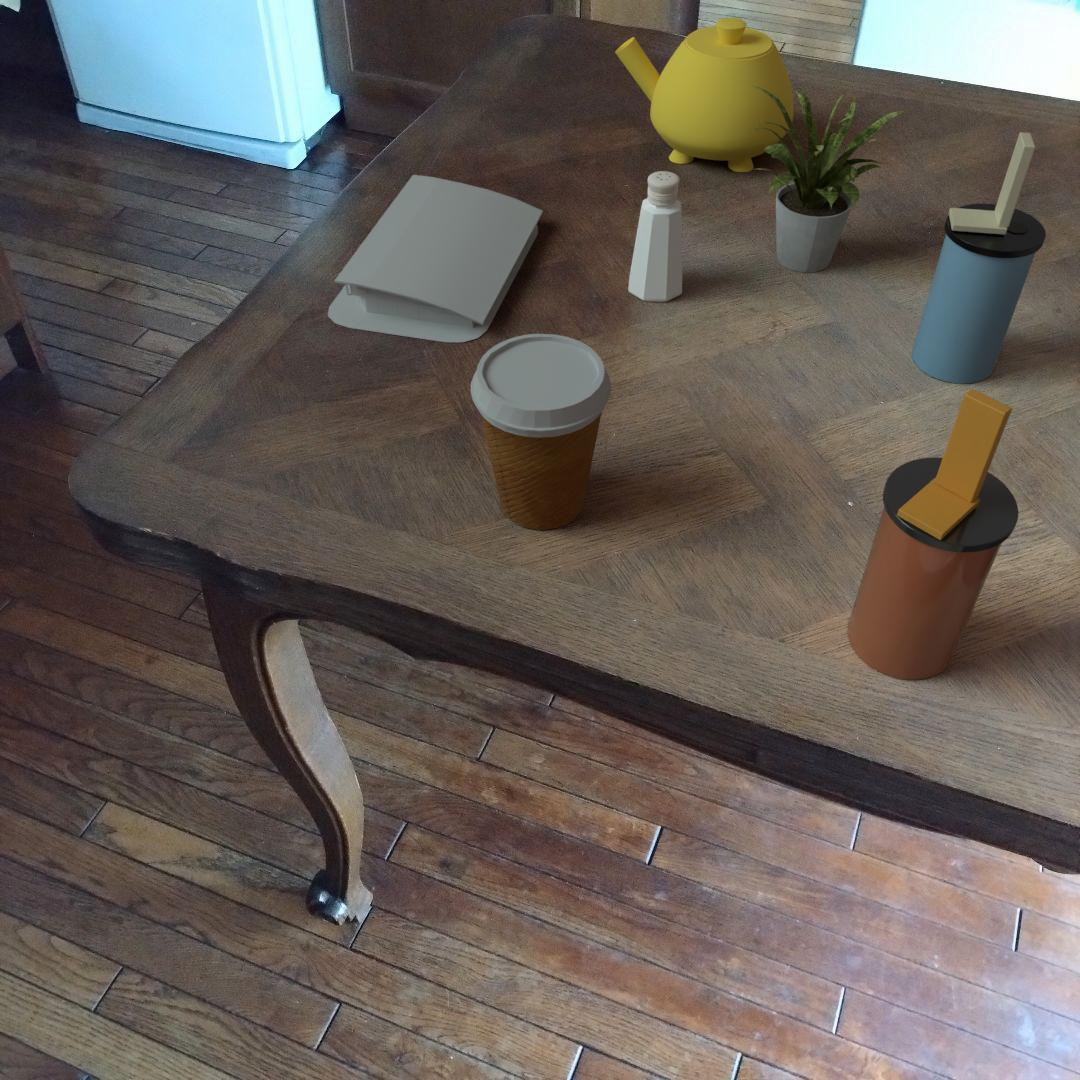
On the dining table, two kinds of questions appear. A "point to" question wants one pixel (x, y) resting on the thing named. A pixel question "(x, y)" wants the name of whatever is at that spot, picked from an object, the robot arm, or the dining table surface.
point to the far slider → (1007, 200)
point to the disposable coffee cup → (541, 424)
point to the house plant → (816, 188)
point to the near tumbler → (925, 577)
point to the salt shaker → (658, 242)
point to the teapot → (716, 93)
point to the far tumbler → (974, 298)
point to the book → (436, 262)
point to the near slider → (960, 467)
